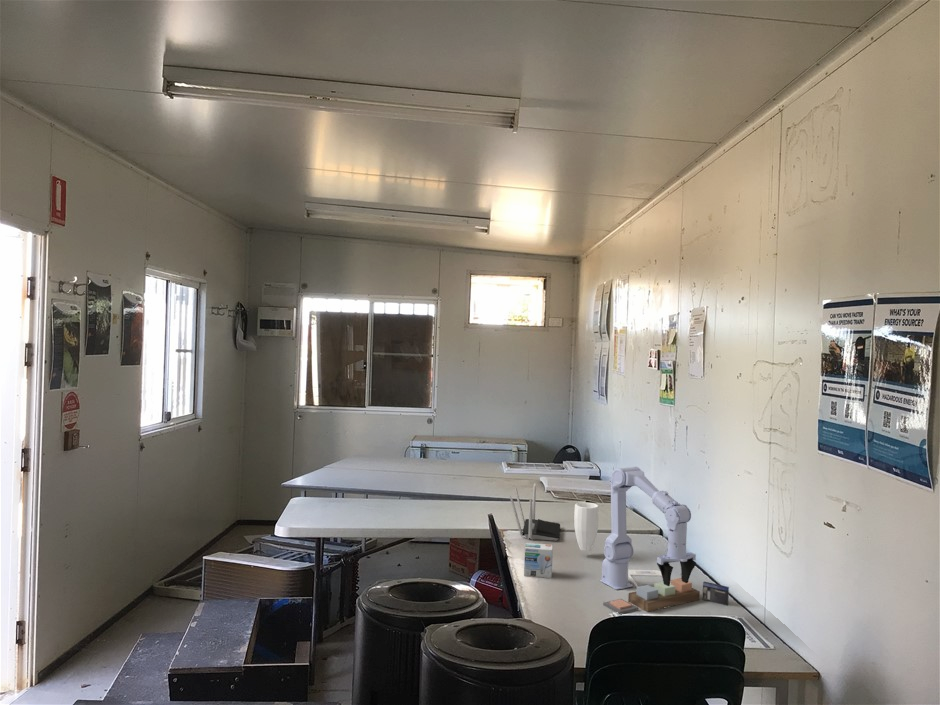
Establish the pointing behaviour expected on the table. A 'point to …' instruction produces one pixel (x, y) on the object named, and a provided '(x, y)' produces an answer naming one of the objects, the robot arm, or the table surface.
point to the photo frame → (643, 574)
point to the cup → (586, 524)
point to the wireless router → (536, 522)
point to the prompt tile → (620, 606)
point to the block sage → (664, 589)
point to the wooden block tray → (663, 600)
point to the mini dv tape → (715, 593)
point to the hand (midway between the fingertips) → (675, 583)
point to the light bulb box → (538, 560)
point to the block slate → (647, 592)
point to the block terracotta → (681, 585)
